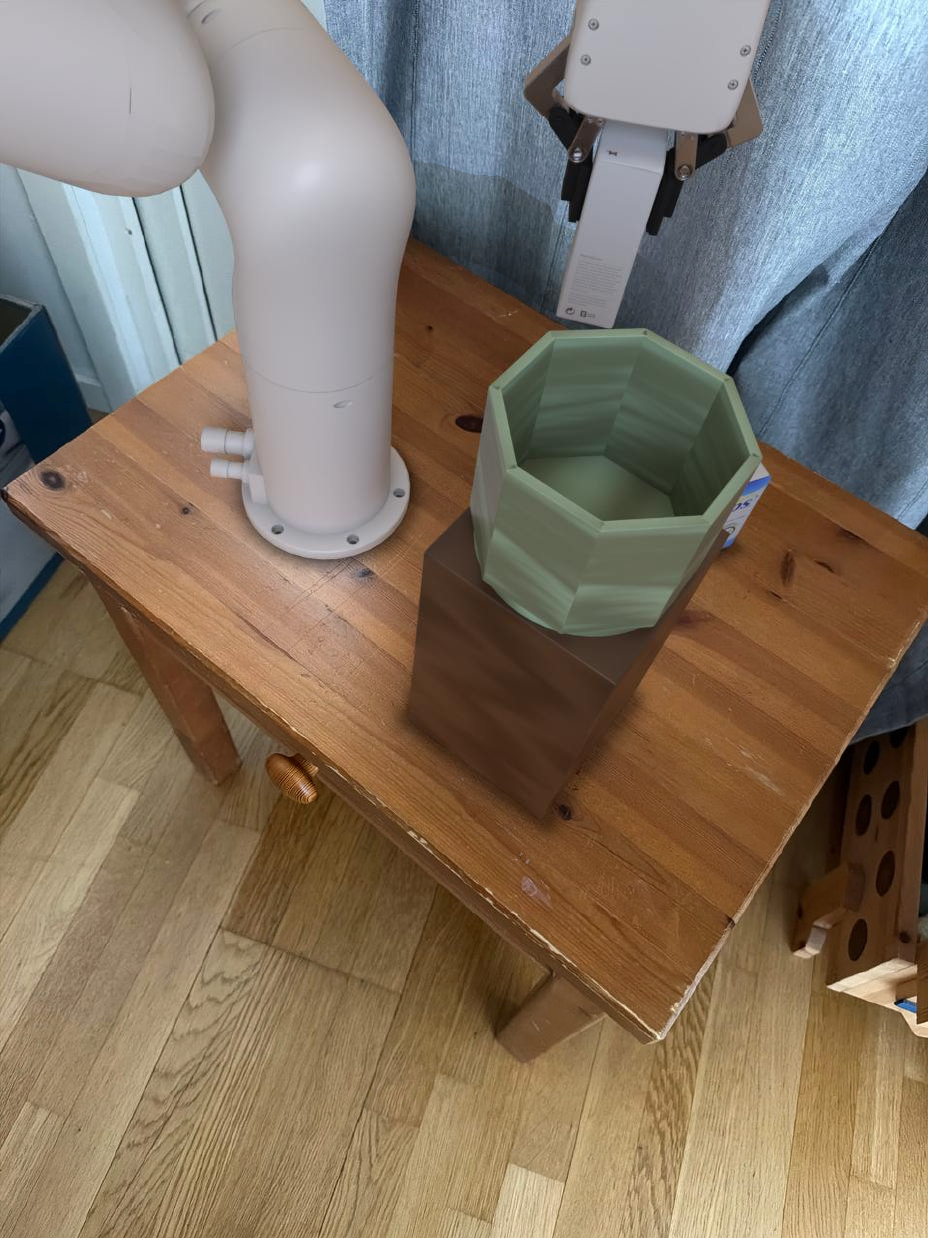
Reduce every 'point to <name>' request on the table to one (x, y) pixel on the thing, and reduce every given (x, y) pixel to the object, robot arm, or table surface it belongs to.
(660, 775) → the table surface
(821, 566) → the table surface
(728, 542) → the medicine box
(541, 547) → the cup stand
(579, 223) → the cosmetic box
